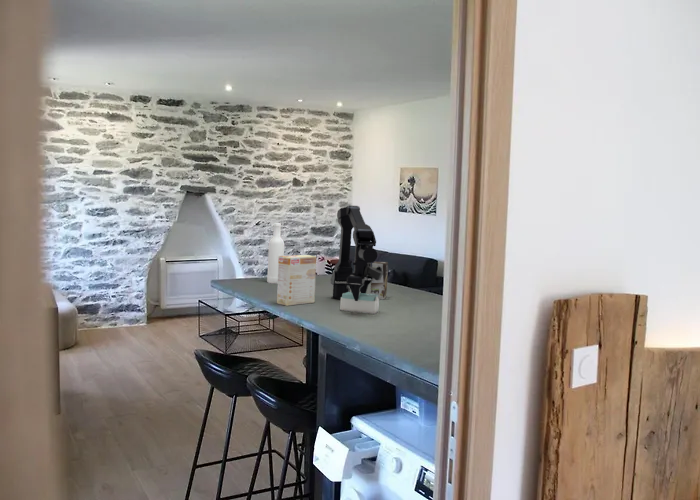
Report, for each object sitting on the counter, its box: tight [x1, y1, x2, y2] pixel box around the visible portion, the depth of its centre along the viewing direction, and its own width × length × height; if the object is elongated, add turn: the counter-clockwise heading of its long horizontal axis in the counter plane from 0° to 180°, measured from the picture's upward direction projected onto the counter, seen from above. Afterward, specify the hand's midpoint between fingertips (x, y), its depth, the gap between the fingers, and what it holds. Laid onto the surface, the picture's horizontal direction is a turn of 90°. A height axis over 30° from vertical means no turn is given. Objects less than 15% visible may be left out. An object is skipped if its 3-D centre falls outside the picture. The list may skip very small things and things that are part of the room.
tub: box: [339, 293, 380, 315], centre depth 242 cm, size 14×6×6 cm, turn 72°
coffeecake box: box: [276, 254, 317, 307], centre depth 252 cm, size 15×7×20 cm, turn 135°
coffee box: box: [369, 261, 389, 301], centre depth 276 cm, size 9×6×16 cm
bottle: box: [266, 222, 285, 285], centre depth 308 cm, size 8×8×30 cm
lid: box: [342, 291, 378, 301], centre depth 242 cm, size 12×7×2 cm, turn 72°
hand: (359, 299), depth 242 cm, fingers open, 9 cm apart
